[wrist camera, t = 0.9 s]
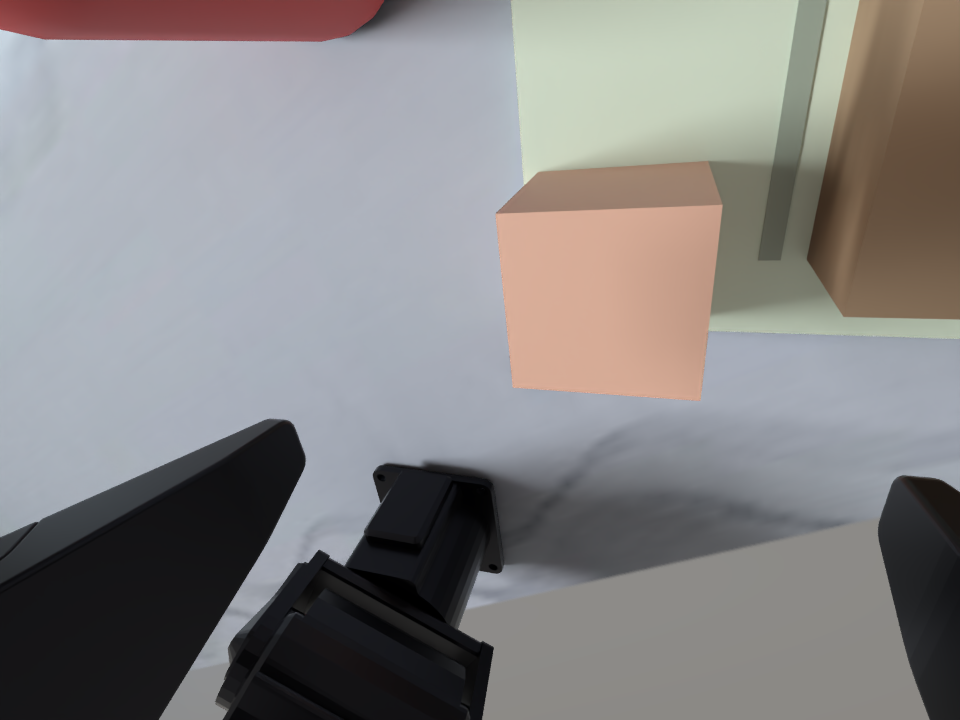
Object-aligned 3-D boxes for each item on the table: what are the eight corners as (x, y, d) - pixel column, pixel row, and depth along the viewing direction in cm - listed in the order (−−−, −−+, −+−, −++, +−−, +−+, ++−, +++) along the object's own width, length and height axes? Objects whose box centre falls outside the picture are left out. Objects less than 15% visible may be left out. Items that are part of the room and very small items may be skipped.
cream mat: (1080, 330, 15) (1101, 344, 14) (538, 316, 20) (533, 326, 19) (1436, -368, 9) (1507, -406, 8) (509, -129, 14) (500, -139, 13)
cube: (692, 317, 17) (700, 401, 13) (546, 313, 19) (513, 387, 15) (708, 161, 15) (722, 204, 11) (538, 171, 16) (495, 214, 12)
